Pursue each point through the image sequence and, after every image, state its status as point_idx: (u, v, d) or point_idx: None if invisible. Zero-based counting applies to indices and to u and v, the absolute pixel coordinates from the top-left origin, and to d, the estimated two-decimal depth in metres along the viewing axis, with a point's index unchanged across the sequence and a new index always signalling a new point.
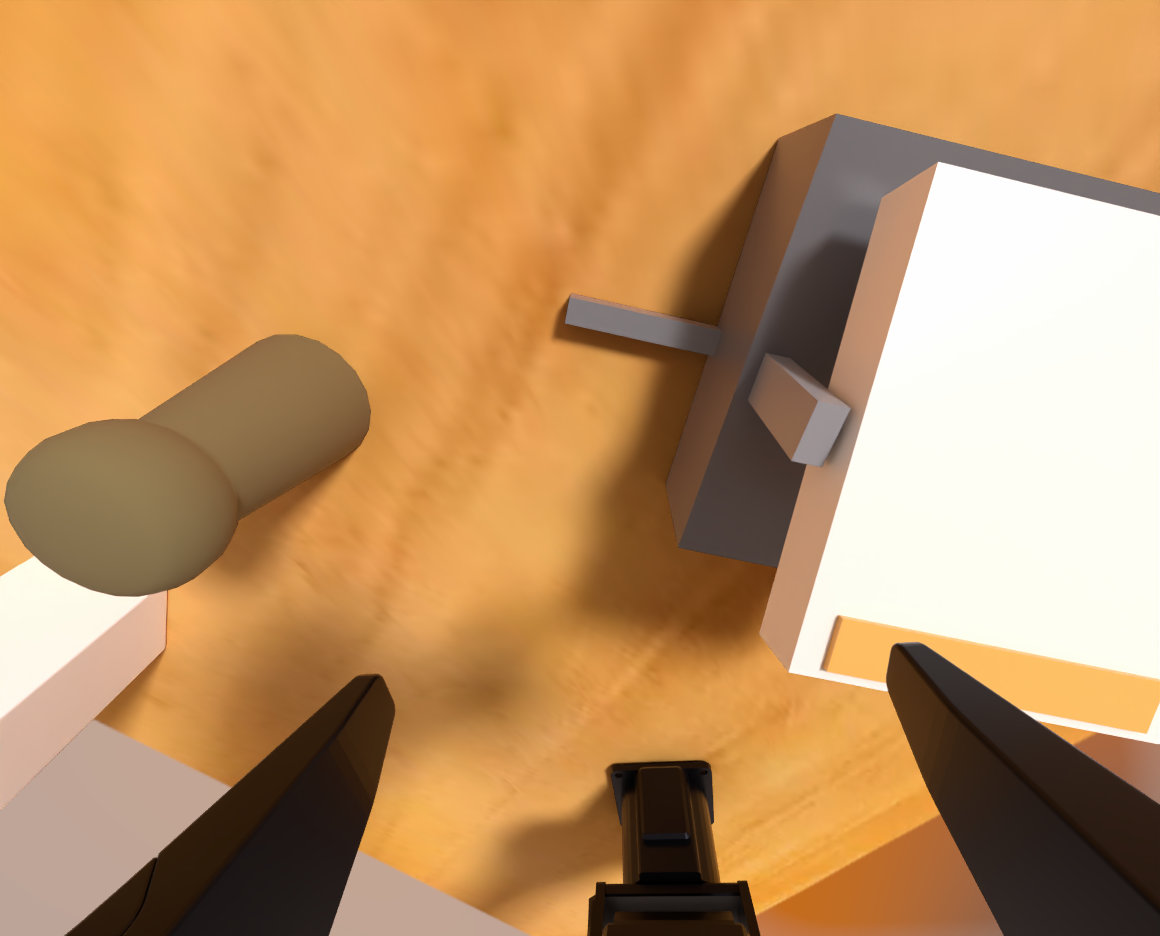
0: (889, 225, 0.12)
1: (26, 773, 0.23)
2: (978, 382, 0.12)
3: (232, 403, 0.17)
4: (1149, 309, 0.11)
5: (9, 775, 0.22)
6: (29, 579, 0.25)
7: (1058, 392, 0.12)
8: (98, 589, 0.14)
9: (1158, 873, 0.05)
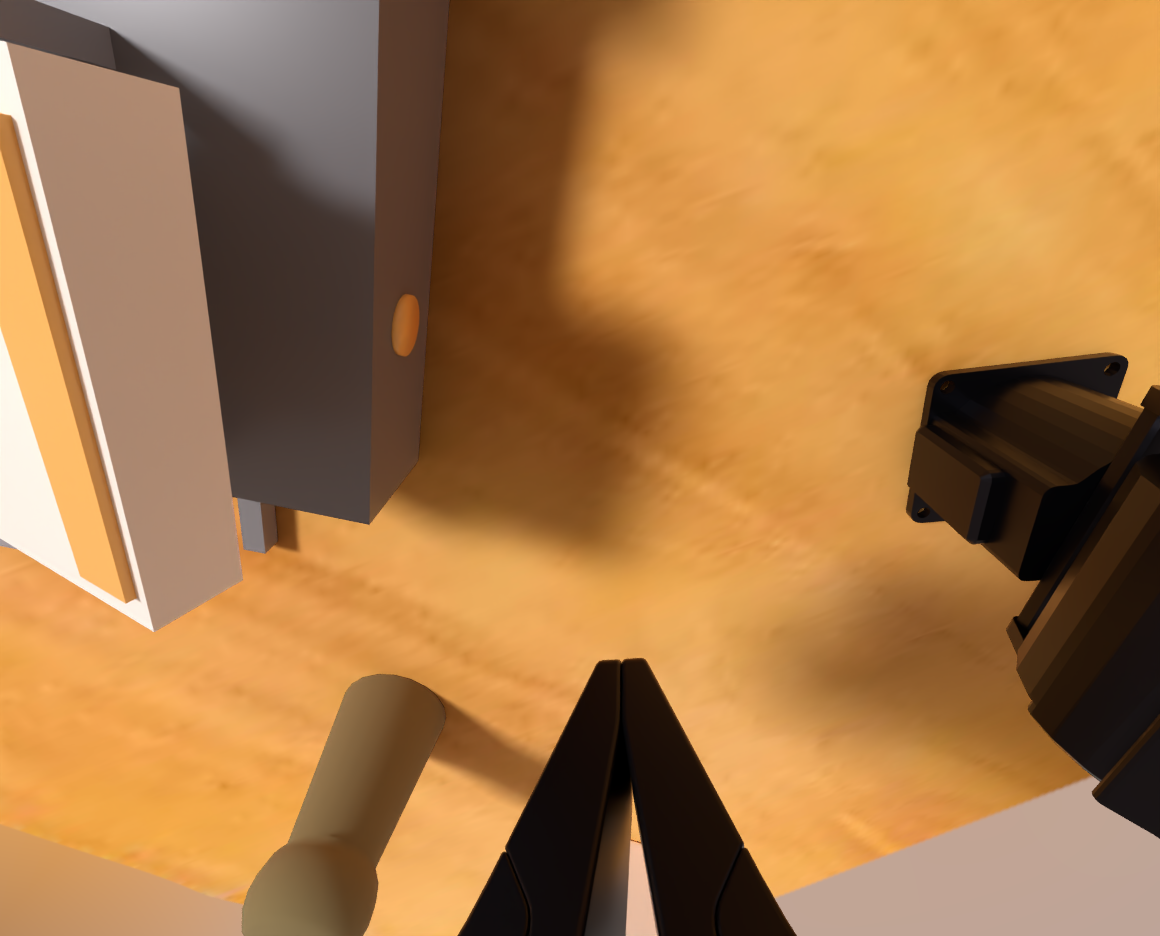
0: None
1: None
2: None
3: (306, 795, 0.24)
4: None
5: None
6: None
7: None
8: None
9: (688, 878, 0.05)
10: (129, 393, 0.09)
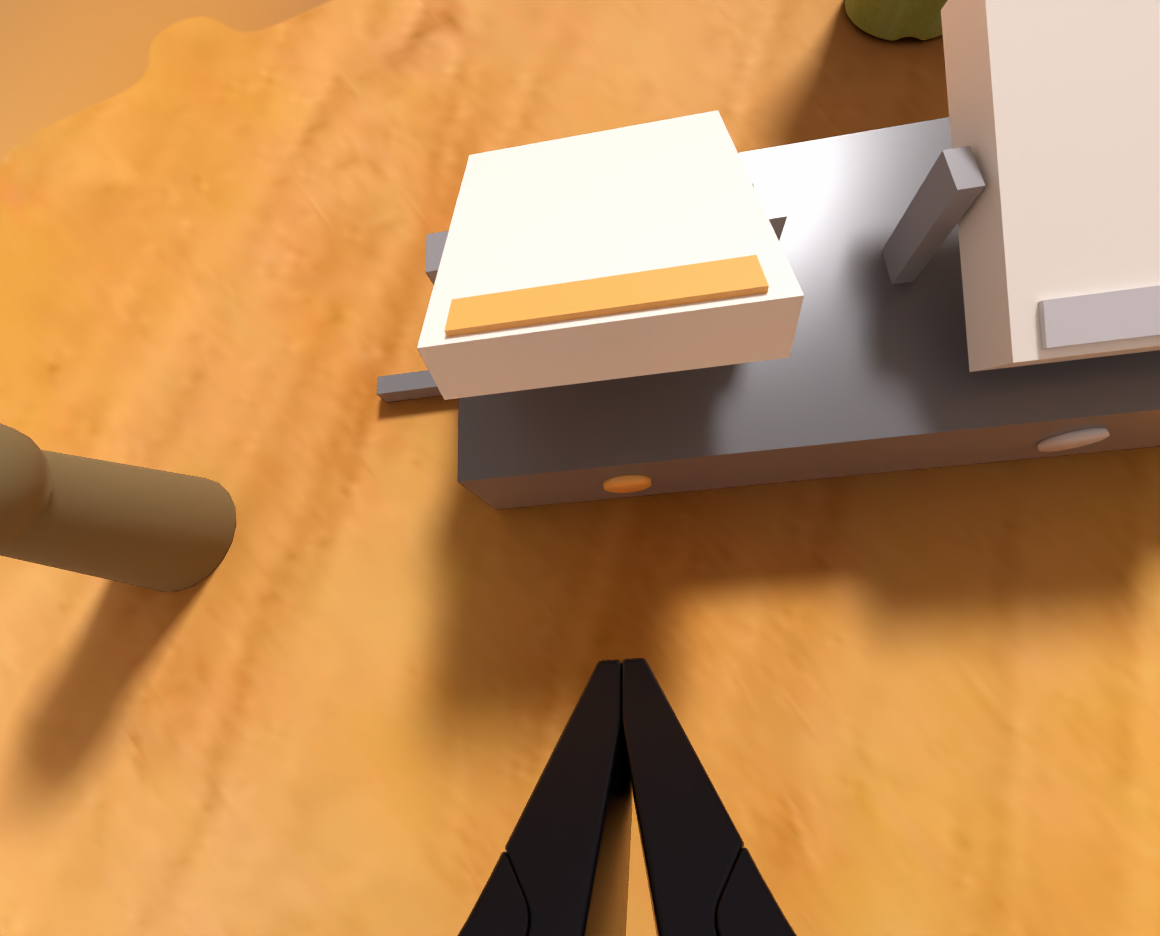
0: None
1: None
2: (519, 195, 0.18)
3: (92, 459, 0.22)
4: (607, 150, 0.19)
5: None
6: None
7: (571, 184, 0.18)
8: None
9: (689, 877, 0.05)
10: (615, 336, 0.13)
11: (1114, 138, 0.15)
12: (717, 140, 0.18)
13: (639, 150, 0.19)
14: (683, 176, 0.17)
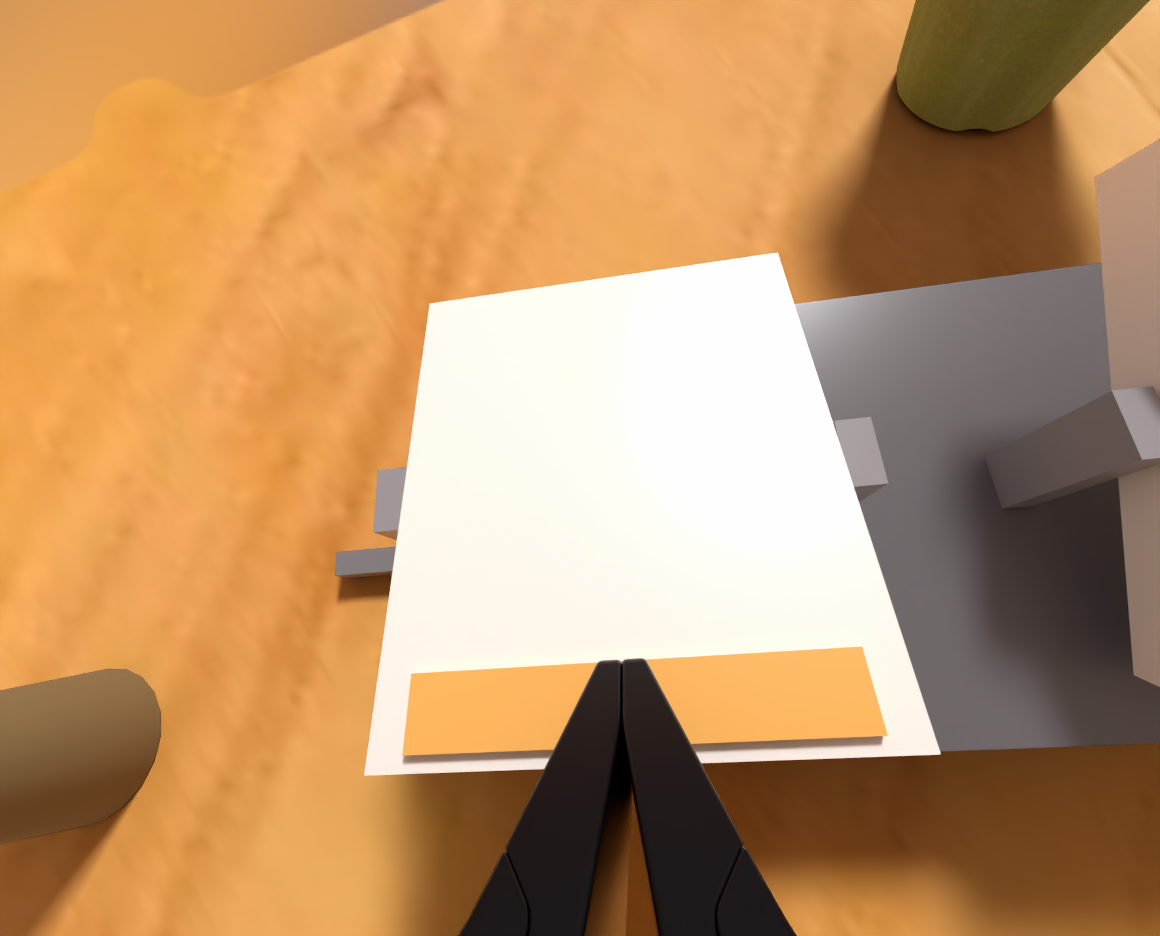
0: None
1: None
2: (501, 413, 0.13)
3: None
4: (623, 325, 0.13)
5: None
6: None
7: (575, 399, 0.13)
8: None
9: (688, 878, 0.05)
10: None
11: None
12: (781, 327, 0.13)
13: (668, 333, 0.13)
14: (736, 406, 0.12)
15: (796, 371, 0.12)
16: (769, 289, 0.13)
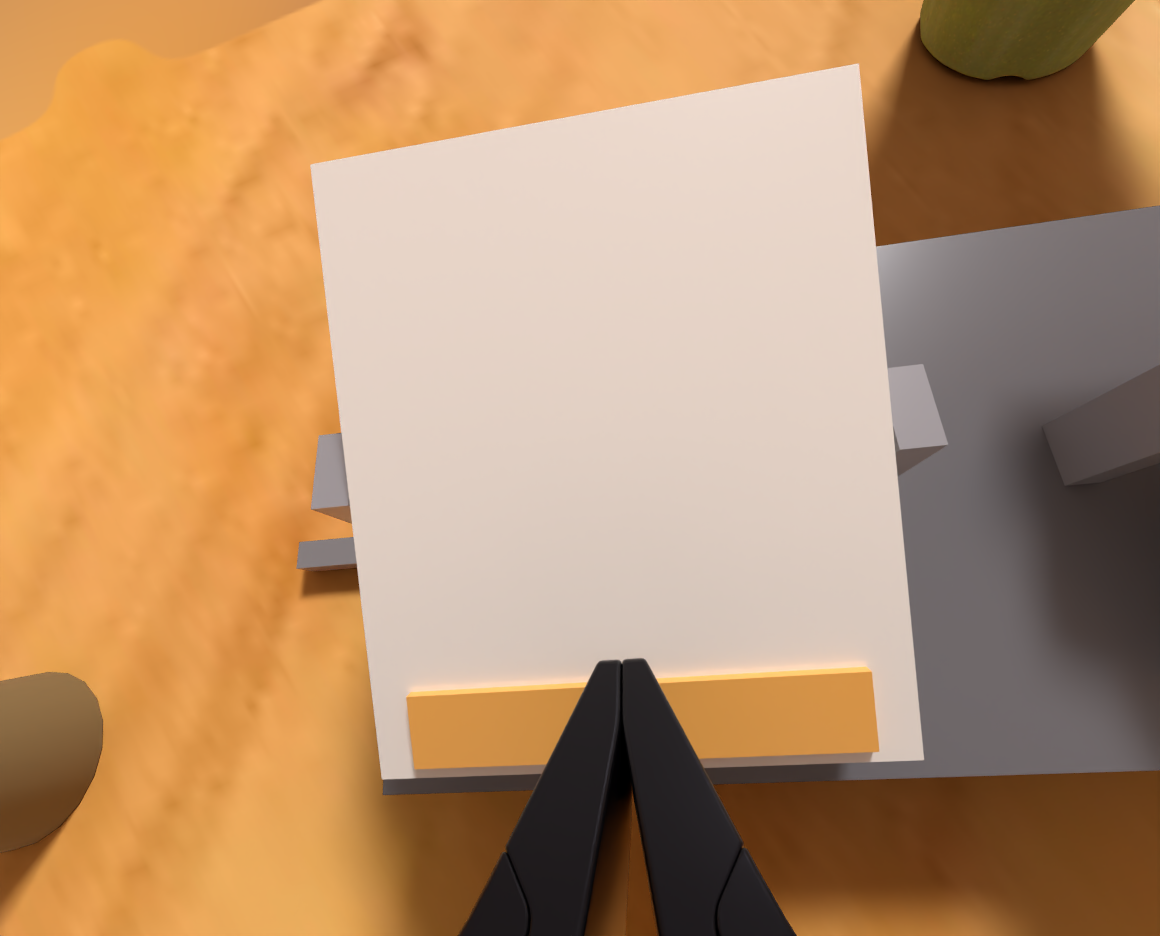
0: None
1: None
2: (453, 370, 0.09)
3: None
4: (612, 217, 0.09)
5: None
6: None
7: (550, 348, 0.09)
8: None
9: (688, 878, 0.05)
10: None
11: None
12: (845, 225, 0.09)
13: (679, 234, 0.09)
14: (766, 364, 0.09)
15: (854, 306, 0.09)
16: (836, 146, 0.09)
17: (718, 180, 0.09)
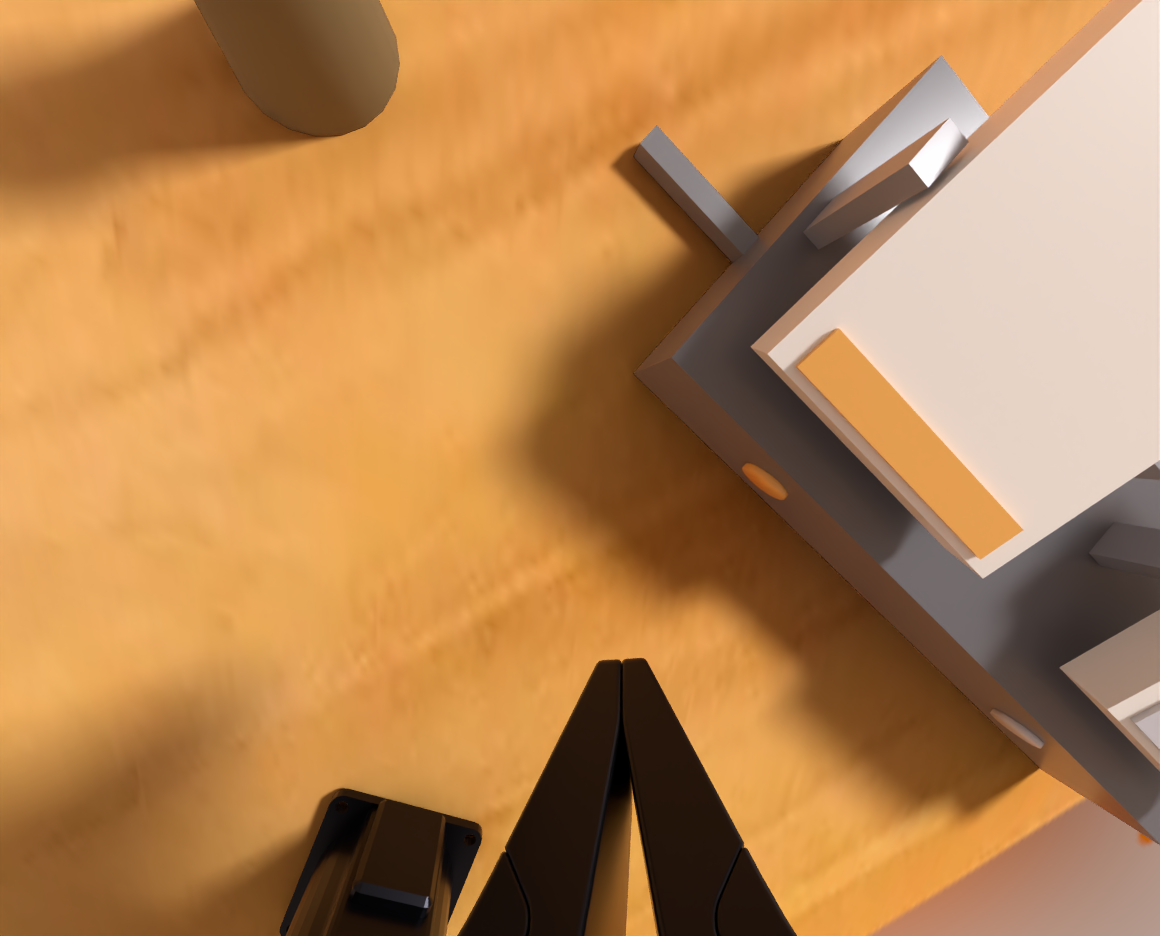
0: (1119, 2, 0.12)
1: None
2: (1085, 184, 0.12)
3: None
4: None
5: None
6: None
7: (1135, 236, 0.12)
8: None
9: (688, 877, 0.05)
10: (879, 473, 0.15)
11: None
12: None
13: None
14: None
15: None
16: None
17: None
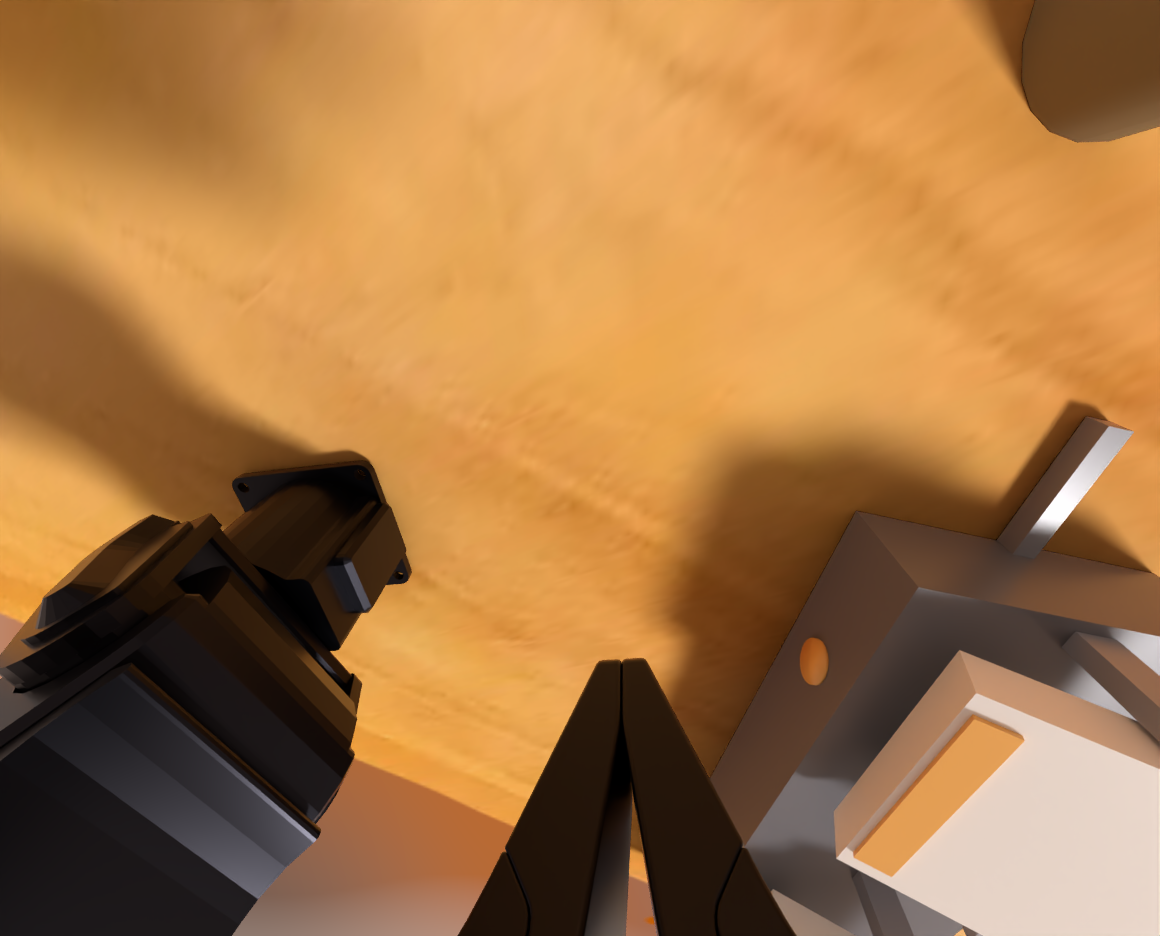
0: None
1: None
2: None
3: None
4: None
5: None
6: None
7: None
8: None
9: (688, 878, 0.05)
10: (891, 779, 0.18)
11: None
12: None
13: None
14: None
15: None
16: None
17: None
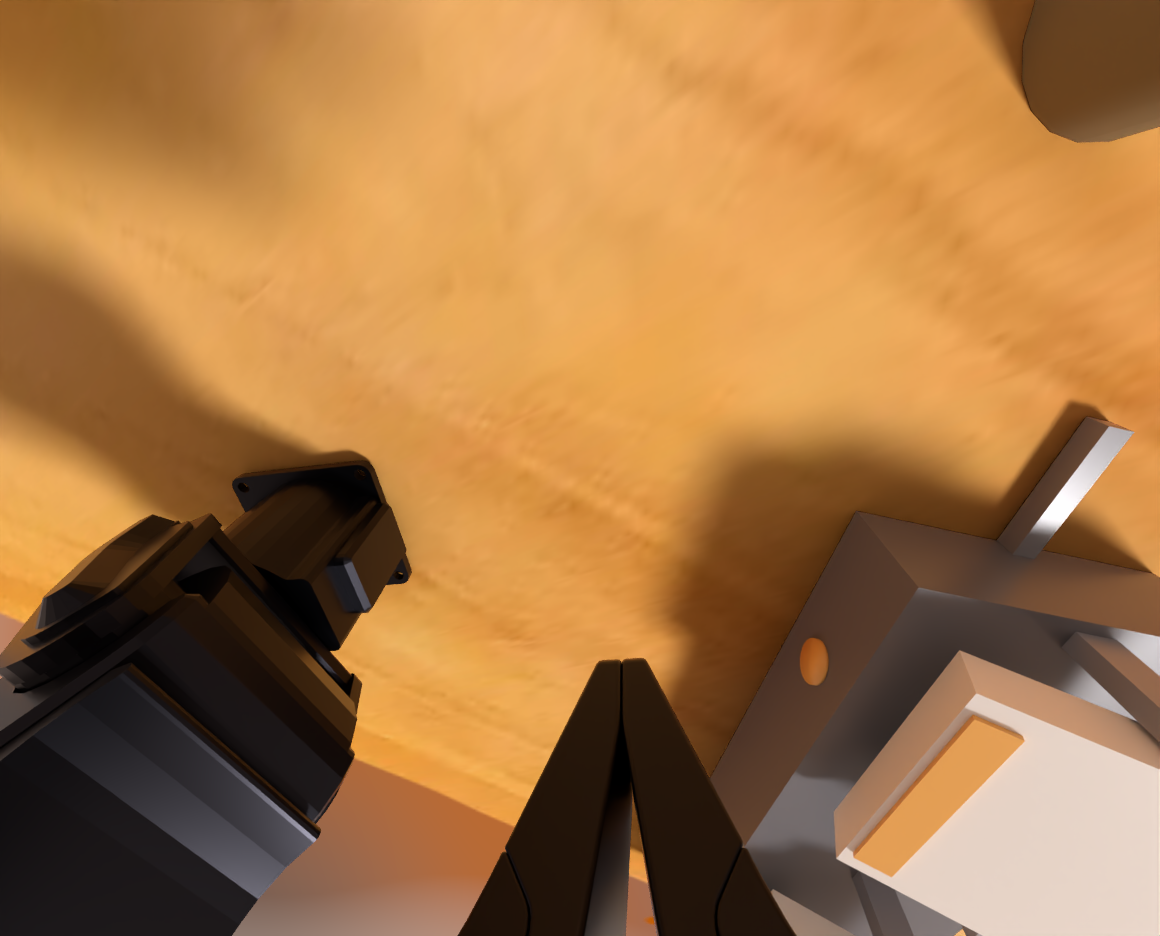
0: None
1: None
2: None
3: None
4: None
5: None
6: None
7: None
8: None
9: (688, 877, 0.05)
10: (891, 779, 0.18)
11: None
12: None
13: None
14: None
15: None
16: None
17: None
